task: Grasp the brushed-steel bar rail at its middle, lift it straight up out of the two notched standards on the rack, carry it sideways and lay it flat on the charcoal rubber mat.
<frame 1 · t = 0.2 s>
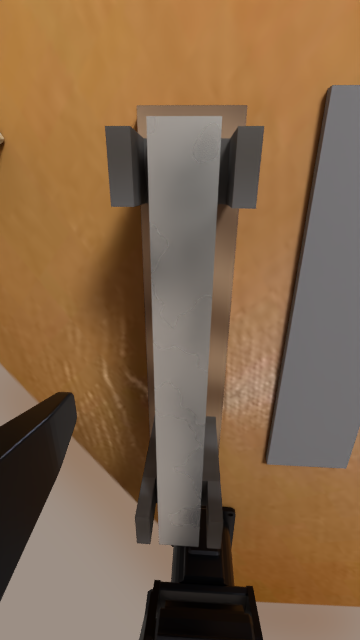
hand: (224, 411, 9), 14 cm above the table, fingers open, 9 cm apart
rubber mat: (337, 321, 22), on the table
steel rail: (183, 369, 16), point 7 cm above the table, touching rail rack
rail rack: (187, 317, 23), on the table
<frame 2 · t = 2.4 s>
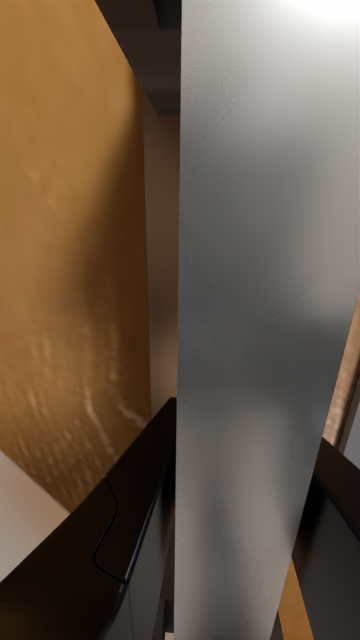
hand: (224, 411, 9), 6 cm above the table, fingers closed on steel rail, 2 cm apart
steel rail: (226, 430, 8), point 7 cm above the table, touching gripper, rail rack
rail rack: (214, 323, 15), on the table
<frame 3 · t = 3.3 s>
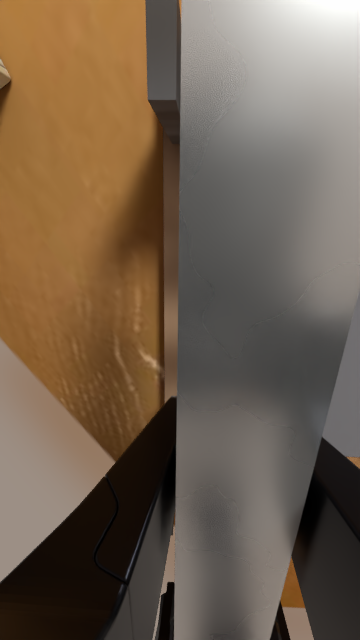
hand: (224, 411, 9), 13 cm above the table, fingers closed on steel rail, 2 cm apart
steel rail: (226, 430, 8), point 14 cm above the table, touching gripper
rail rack: (209, 286, 21), on the table
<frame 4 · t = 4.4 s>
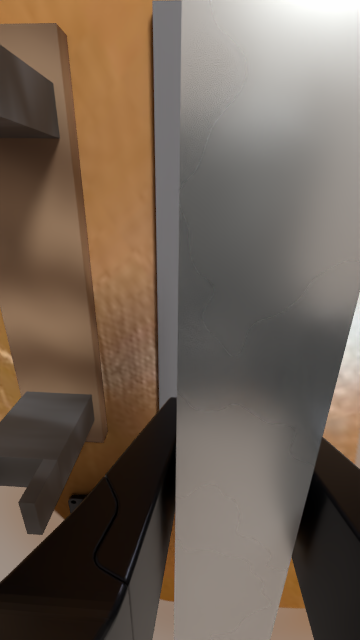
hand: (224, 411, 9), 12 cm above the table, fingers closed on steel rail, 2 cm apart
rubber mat: (210, 286, 20), on the table
steel rail: (226, 429, 8), point 13 cm above the table, touching gripper
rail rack: (48, 281, 21), on the table
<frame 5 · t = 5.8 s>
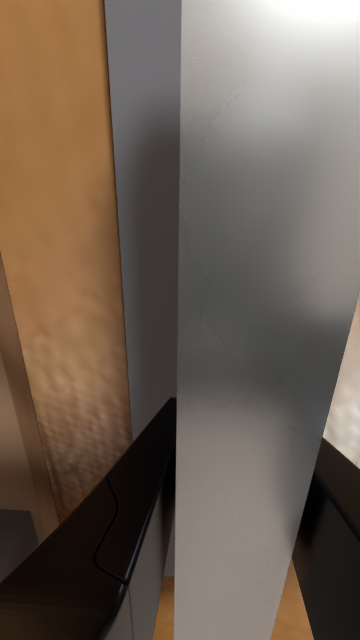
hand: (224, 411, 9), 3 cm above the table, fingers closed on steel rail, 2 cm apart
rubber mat: (218, 353, 12), on the table
steel rail: (226, 429, 8), point 4 cm above the table, touching gripper
when the fingers open (2 cm above the table, at t = 6.8 s): steel rail drops 2 cm, resting on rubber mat.
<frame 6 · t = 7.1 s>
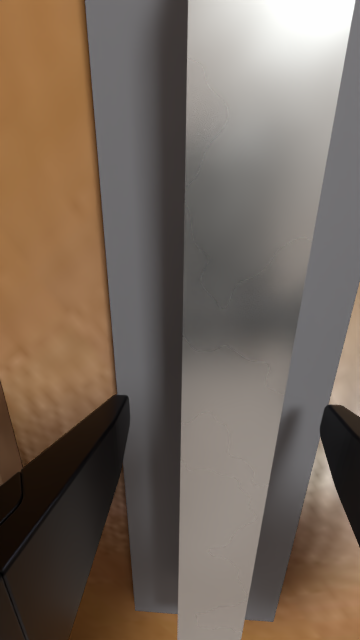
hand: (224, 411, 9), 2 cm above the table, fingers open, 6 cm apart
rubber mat: (220, 376, 10), on the table
steel rail: (221, 385, 10), point 1 cm above the table, touching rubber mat
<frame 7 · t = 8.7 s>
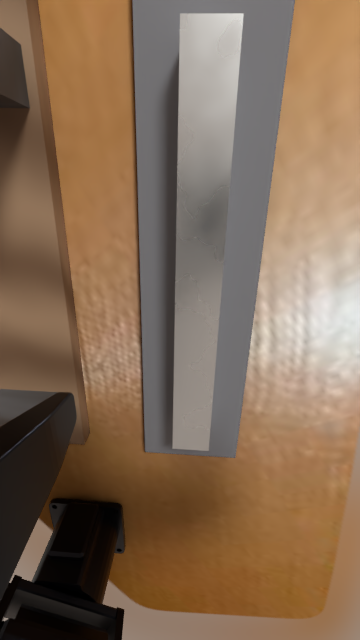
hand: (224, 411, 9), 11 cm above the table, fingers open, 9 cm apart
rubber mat: (198, 277, 19), on the table
steel rail: (198, 279, 18), point 1 cm above the table, touching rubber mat
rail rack: (23, 270, 19), on the table
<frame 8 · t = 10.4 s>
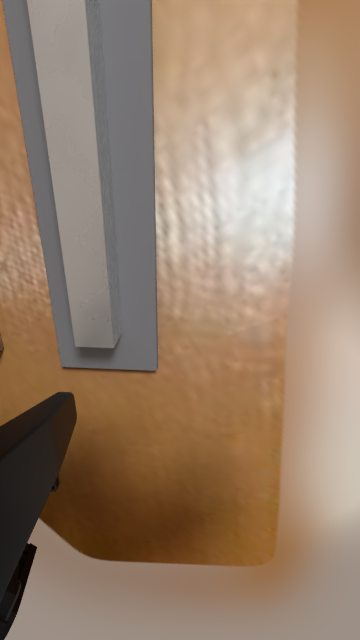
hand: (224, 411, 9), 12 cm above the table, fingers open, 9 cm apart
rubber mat: (92, 149, 17), on the table
steel rail: (88, 147, 17), point 1 cm above the table, touching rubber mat
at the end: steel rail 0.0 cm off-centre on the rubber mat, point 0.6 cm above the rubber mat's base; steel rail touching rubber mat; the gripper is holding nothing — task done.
